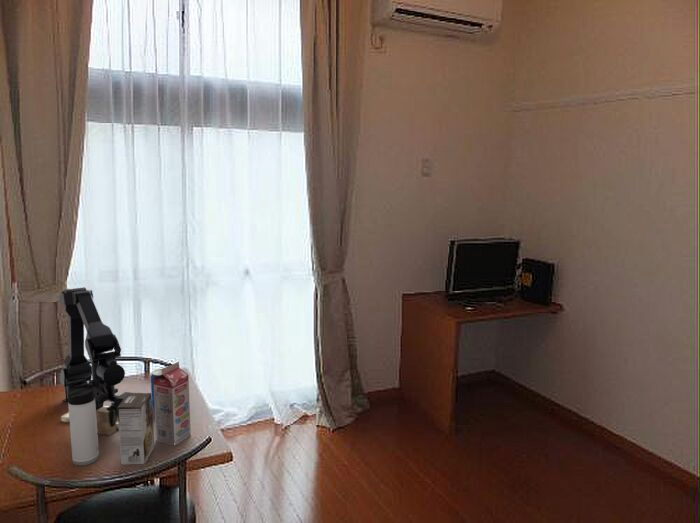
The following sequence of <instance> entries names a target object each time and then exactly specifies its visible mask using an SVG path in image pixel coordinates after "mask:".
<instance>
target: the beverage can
mask: <svg viewBox="0 0 700 523" xmlns="http://www.w3.org/2000/svg"><path fill="white" fill-rule="evenodd" d="M161 369H162V368H158V369H155V370H153V371H152V372H151V375H150V389H151V391H150V393H151V397H152V409H153V408H154V409H155V401H154V381H153V379H154V378H155V377H157V376H159V375H162V370H161Z"/></svg>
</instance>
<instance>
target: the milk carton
mask: <svg viewBox="0 0 700 523" xmlns="http://www.w3.org/2000/svg"><path fill="white" fill-rule="evenodd" d="M160 369H161V370H162V375H159V376H157V377H155V378H154V379H153V381H154V401H155V408H154V417H155V418H154V420H155V436H156V438H155V439H156V440H155V441H156V442H159V443H161V444H162V443H163V444H167V445H171V446H174V443H175V446H177V445H178V444H180V443H182V442H183V441H184V440H186V439H189V437H191V432H192V431H191V430H192V429H191V406H190V404H191V403H190V384H189V383H190V382H189V378H190V376H189V374H188V373H187V372H186V371H185V370H183V368H182V367H180V361H177V362H175V363H174V362H173V363H172V364H170V365H167V366H165V367H163V368H160ZM176 444H177V445H176ZM175 446H174V447H175Z"/></svg>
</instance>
